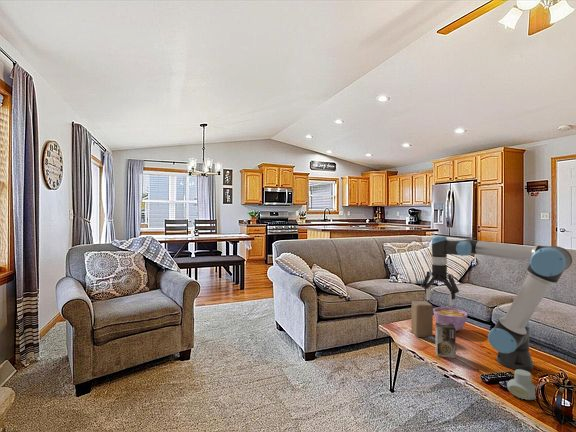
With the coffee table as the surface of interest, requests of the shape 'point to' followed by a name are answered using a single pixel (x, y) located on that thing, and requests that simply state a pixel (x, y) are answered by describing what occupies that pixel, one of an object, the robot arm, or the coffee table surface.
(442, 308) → the bowl of food
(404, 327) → the coffee table surface
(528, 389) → the air freshener
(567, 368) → the coffee table surface
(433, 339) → the tv remote
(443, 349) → the coffee box
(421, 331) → the wooden block
